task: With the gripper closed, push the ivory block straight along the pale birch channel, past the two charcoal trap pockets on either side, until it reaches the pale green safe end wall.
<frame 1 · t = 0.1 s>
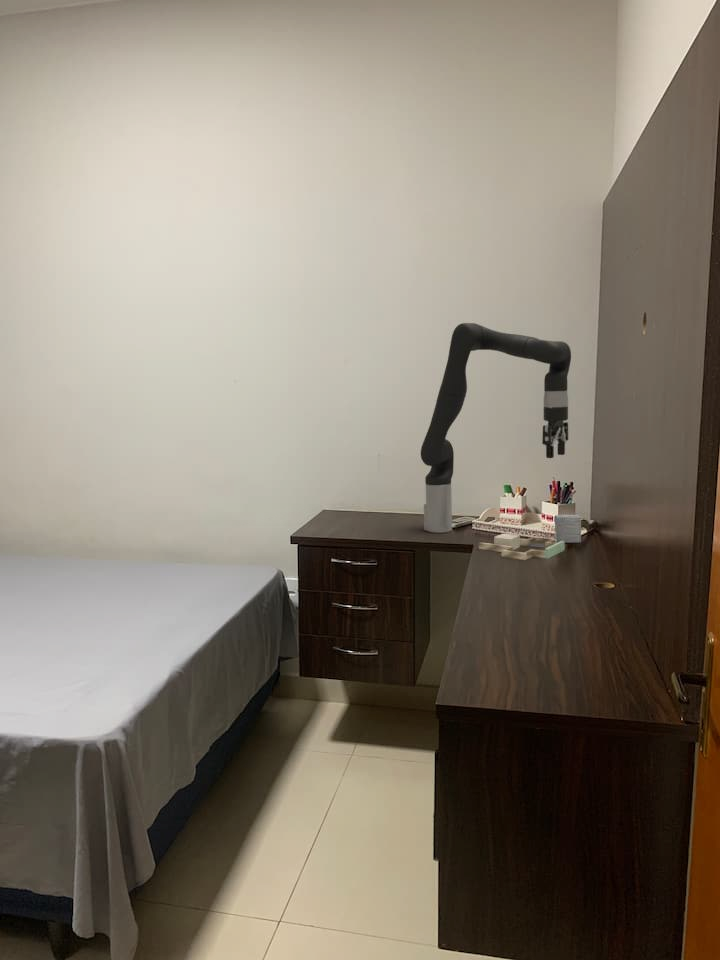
hand: (555, 456, 235), 29 cm above the table, fingers open, 8 cm apart
trap track: (523, 550, 235), on the table
ivory block: (507, 548, 239), resting in trap track
medicine box: (567, 542, 244), on the table
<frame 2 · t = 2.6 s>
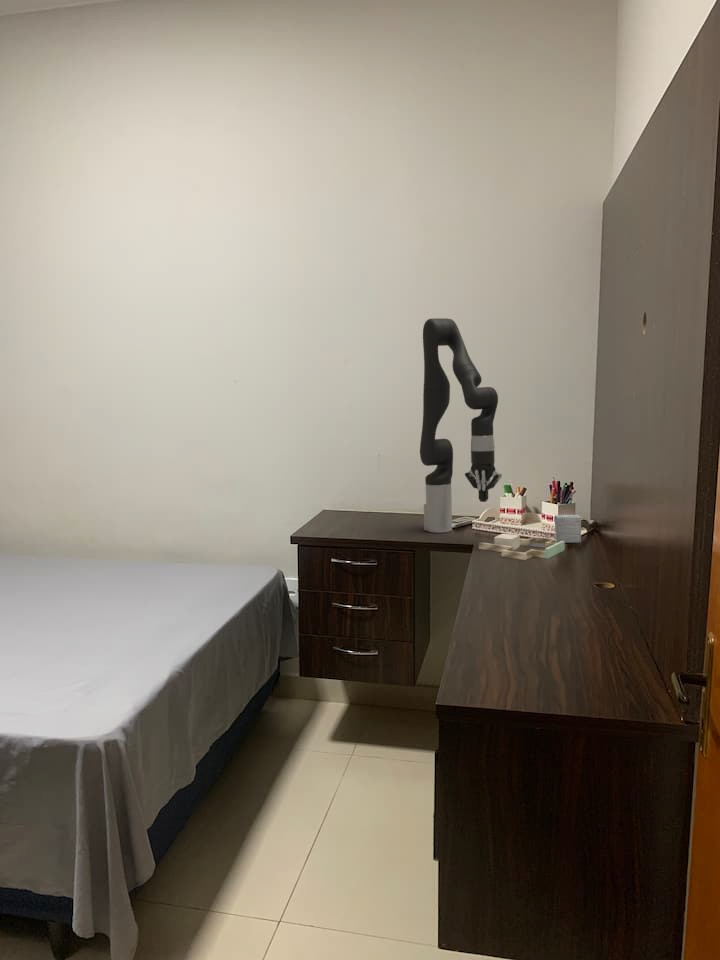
hand: (483, 501, 242), 15 cm above the table, fingers closed
nothing on the table moved.
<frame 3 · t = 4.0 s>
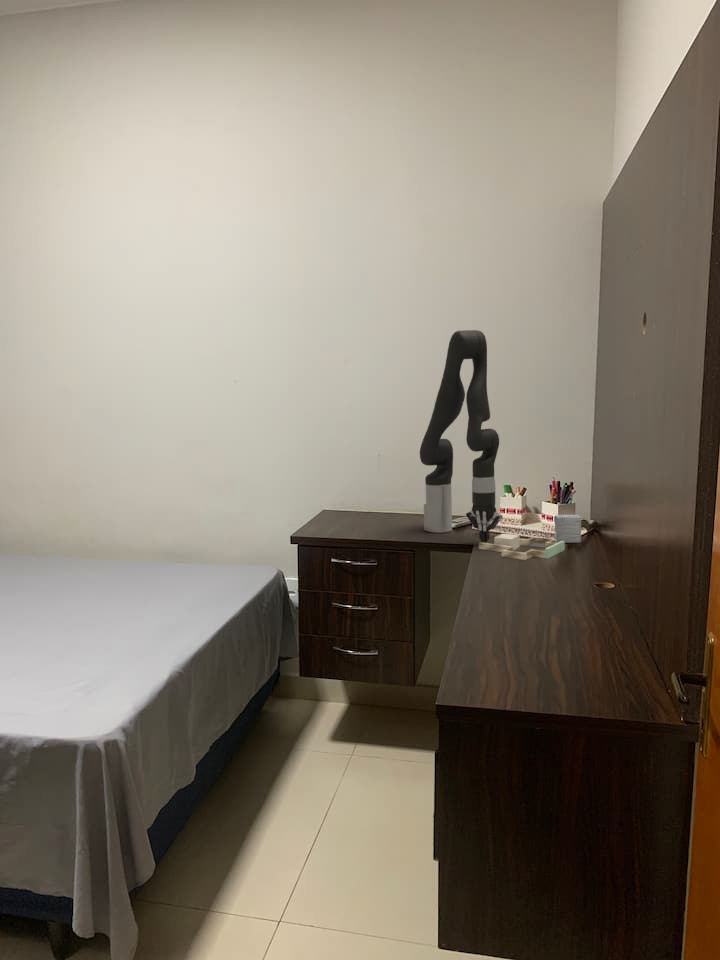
hand: (484, 541, 244), 1 cm above the table, fingers closed
nothing on the table moved.
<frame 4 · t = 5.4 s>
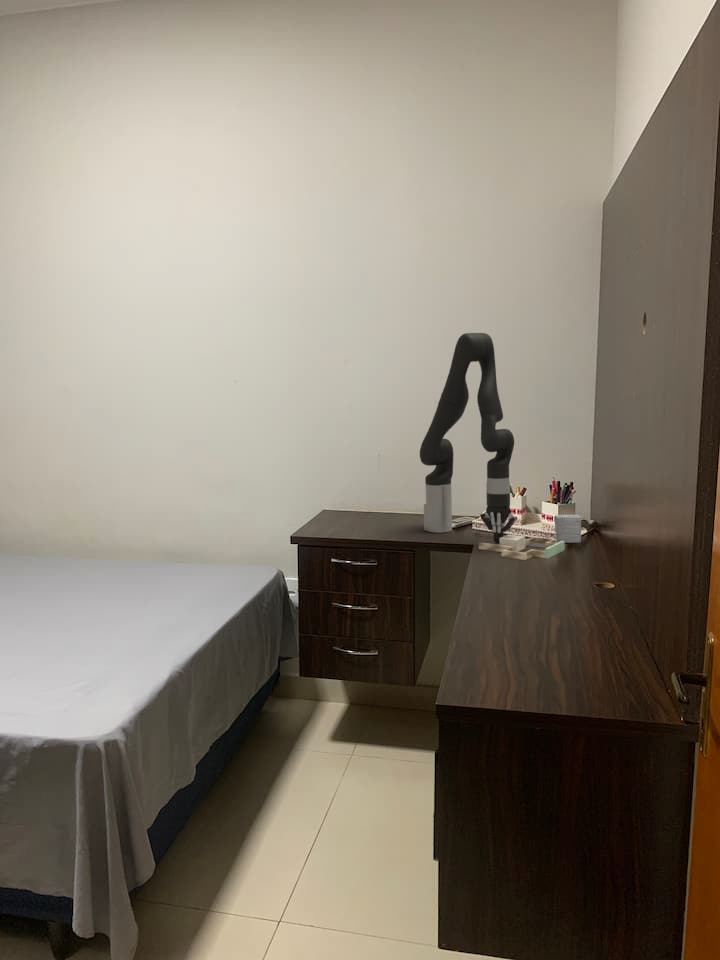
hand: (498, 543, 241), 1 cm above the table, fingers closed
ivory block: (512, 549, 237), resting in trap track, touching gripper
everything else where it was.
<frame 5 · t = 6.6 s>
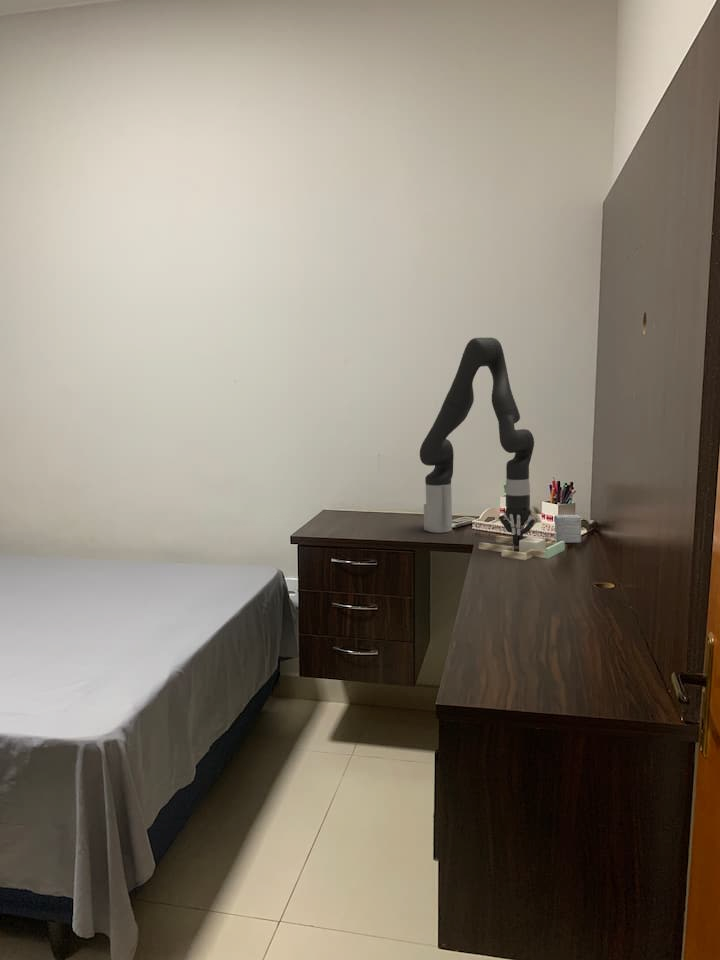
hand: (518, 545, 236), 1 cm above the table, fingers closed
ivory block: (532, 552, 233), resting in trap track
everything else where it was.
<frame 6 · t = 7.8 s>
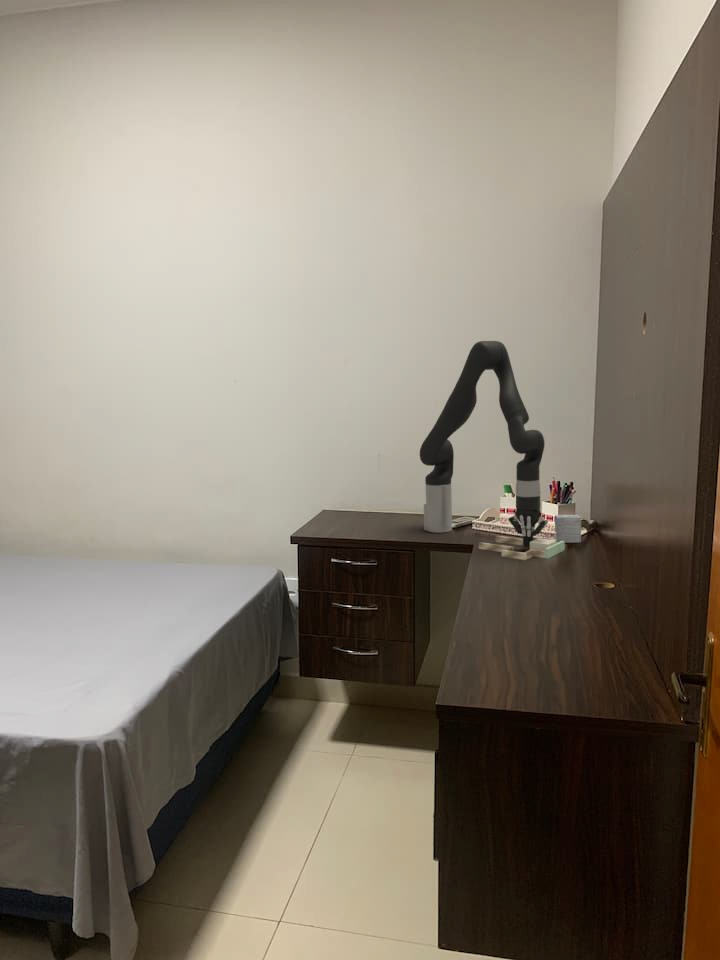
hand: (528, 547, 234), 1 cm above the table, fingers closed
ivory block: (542, 553, 231), resting in trap track
everything else where it was.
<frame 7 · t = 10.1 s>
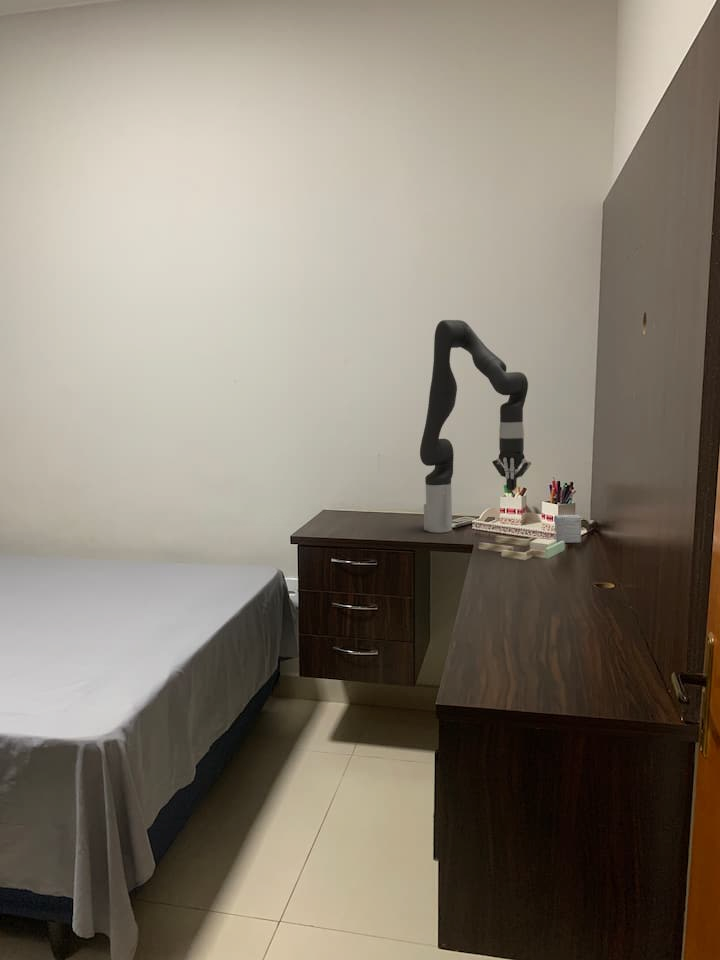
hand: (511, 490, 235), 19 cm above the table, fingers closed
nothing on the table moved.
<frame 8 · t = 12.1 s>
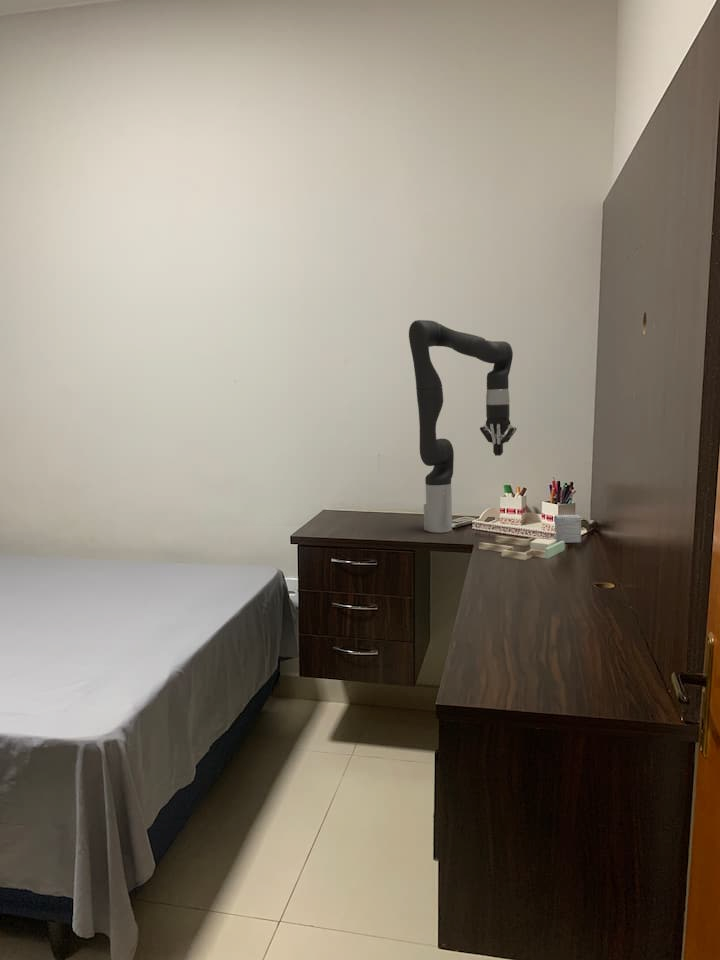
hand: (498, 455, 245), 29 cm above the table, fingers closed
nothing on the table moved.
at the end: ivory block 0.5 cm from the target spot on the trap track, point 0.0 cm above the trap track's base; ivory block tilted 0° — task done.
